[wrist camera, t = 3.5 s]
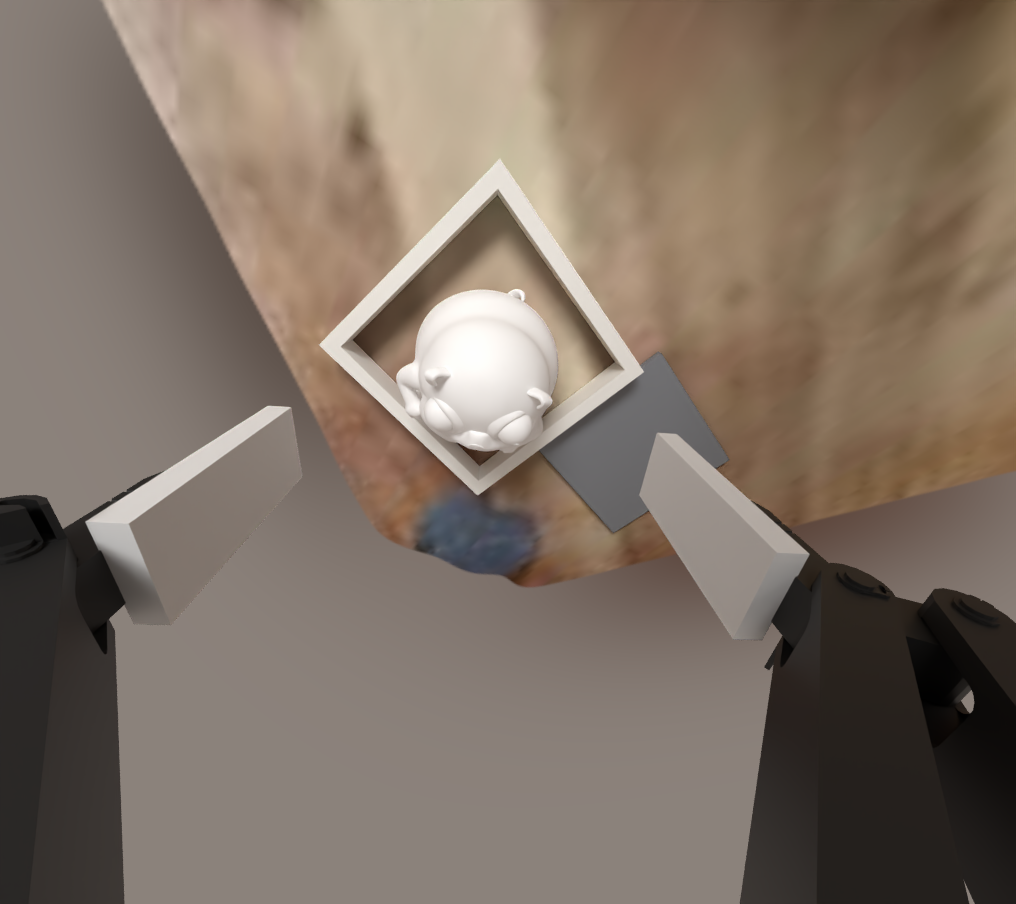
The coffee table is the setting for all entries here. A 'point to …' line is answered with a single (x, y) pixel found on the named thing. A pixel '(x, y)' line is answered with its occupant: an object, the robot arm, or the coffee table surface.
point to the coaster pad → (628, 442)
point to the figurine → (482, 371)
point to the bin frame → (414, 262)
